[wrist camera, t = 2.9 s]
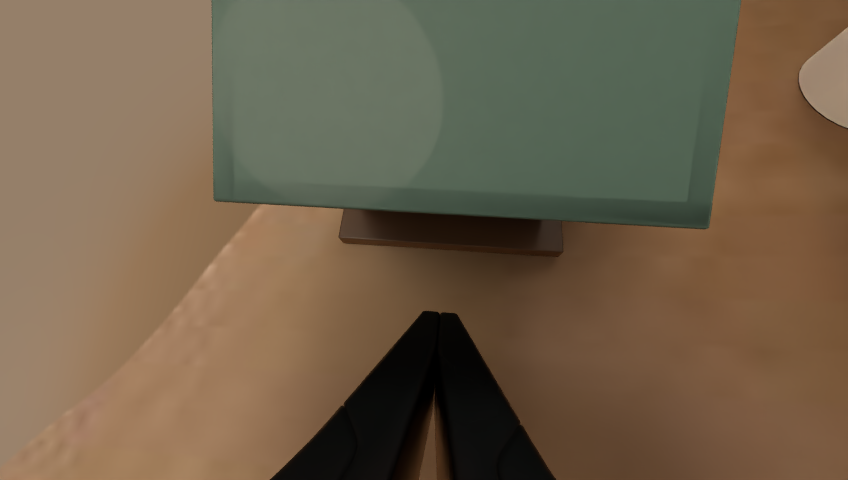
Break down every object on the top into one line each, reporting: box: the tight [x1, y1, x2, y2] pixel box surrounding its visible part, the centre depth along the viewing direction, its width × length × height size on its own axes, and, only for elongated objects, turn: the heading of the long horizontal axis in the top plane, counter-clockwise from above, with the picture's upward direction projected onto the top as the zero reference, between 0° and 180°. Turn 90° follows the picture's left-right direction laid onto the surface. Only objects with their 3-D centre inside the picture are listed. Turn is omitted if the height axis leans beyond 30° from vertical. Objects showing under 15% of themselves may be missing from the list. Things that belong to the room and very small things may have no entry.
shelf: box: [212, 0, 741, 229], centre depth 13 cm, size 6×11×12 cm, turn 86°
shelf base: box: [339, 209, 563, 257], centre depth 21 cm, size 9×13×1 cm
